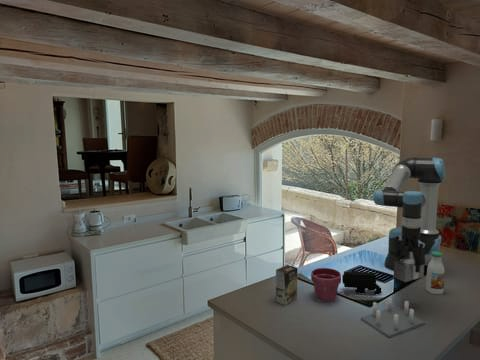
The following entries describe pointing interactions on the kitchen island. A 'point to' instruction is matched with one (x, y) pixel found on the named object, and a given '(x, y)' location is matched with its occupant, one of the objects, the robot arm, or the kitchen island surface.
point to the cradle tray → (392, 319)
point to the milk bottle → (435, 274)
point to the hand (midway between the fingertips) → (408, 275)
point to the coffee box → (286, 284)
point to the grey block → (406, 270)
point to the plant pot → (326, 283)
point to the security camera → (361, 281)
